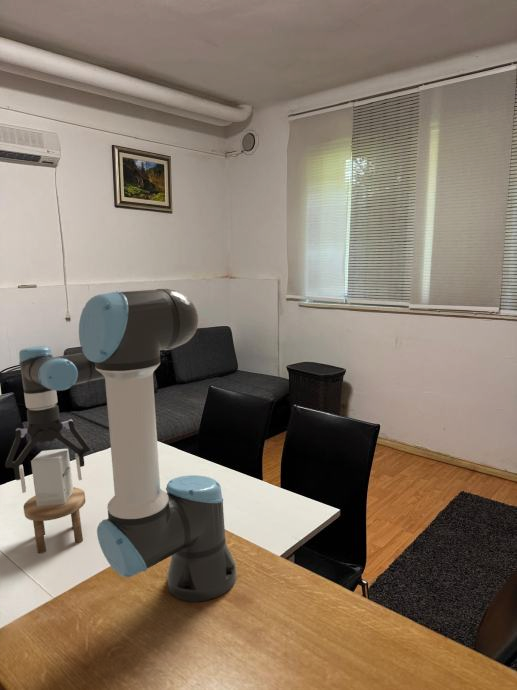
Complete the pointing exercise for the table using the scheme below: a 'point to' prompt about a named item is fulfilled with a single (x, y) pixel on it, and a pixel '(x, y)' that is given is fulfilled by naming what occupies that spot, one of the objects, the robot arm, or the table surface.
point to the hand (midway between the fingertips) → (52, 484)
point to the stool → (55, 516)
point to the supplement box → (52, 477)
